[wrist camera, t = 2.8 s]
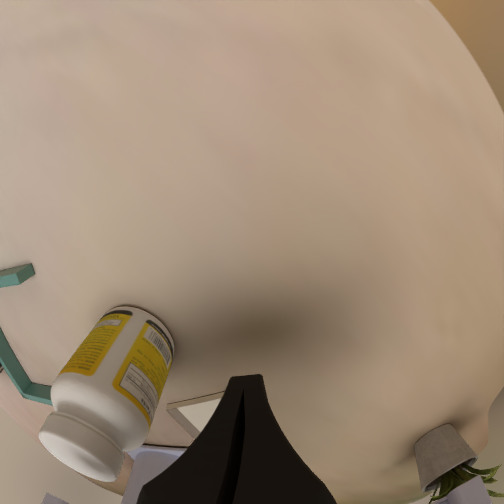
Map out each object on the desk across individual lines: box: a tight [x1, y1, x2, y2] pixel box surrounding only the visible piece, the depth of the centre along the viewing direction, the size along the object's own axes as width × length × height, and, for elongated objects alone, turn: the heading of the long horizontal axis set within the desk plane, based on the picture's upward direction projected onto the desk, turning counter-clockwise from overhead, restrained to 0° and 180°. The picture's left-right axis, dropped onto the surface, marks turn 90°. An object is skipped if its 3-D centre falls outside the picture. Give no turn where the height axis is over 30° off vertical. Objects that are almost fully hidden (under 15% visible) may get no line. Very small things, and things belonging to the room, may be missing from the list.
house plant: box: [414, 424, 504, 504], centre depth 14 cm, size 14×14×16 cm
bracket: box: [0, 264, 53, 406], centre depth 17 cm, size 13×10×2 cm
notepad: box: [166, 392, 224, 439], centre depth 20 cm, size 9×6×1 cm, turn 24°
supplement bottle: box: [39, 306, 174, 482], centre depth 12 cm, size 5×5×10 cm
